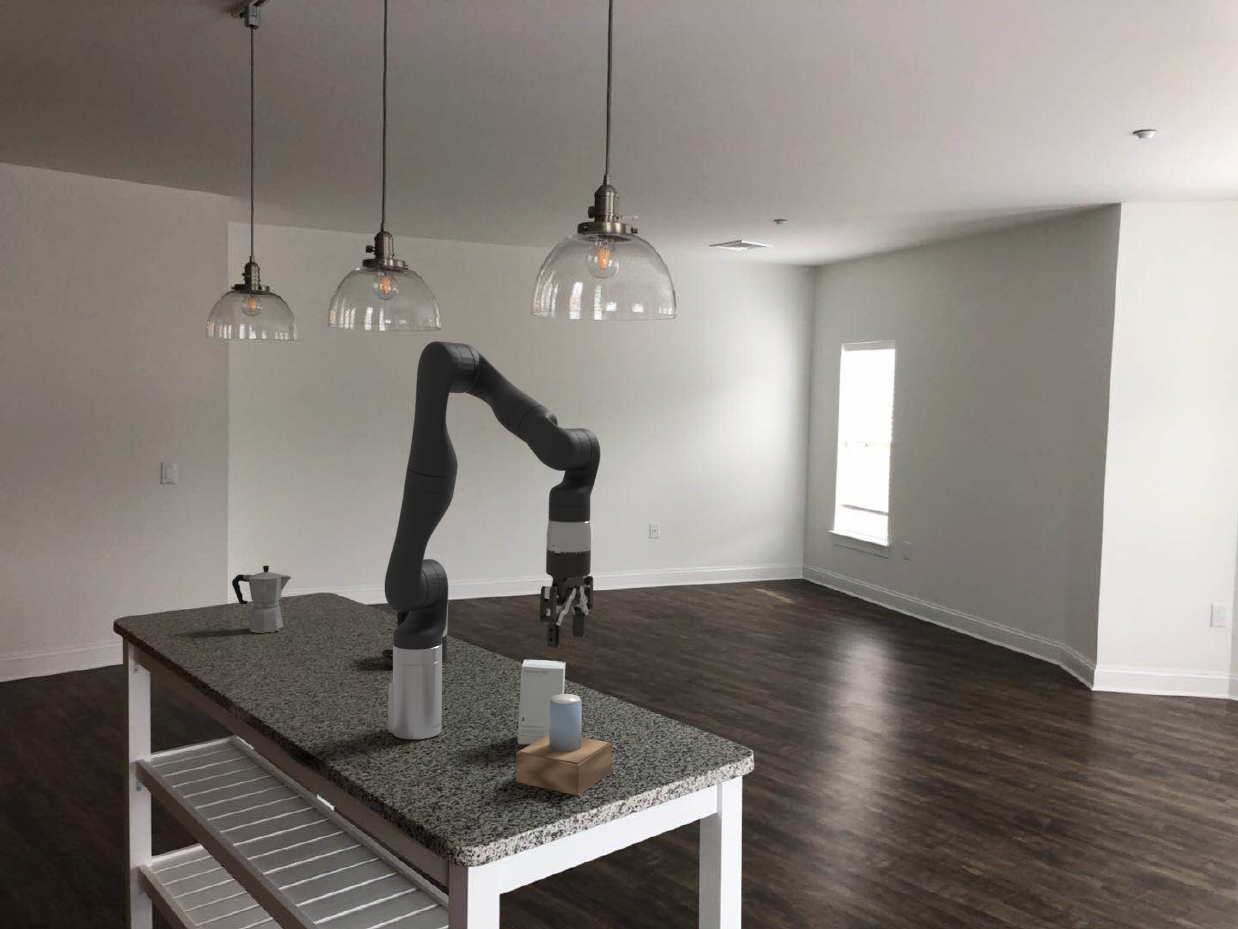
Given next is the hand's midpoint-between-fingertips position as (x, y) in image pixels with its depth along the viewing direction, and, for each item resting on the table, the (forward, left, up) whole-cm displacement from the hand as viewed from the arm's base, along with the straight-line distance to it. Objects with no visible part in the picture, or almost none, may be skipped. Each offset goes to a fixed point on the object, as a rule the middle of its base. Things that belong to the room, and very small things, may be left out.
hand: (566, 641), depth 167 cm
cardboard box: (0, 0, -23) cm, 23 cm away
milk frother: (-69, +47, -24) cm, 87 cm away
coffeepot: (-126, +53, -24) cm, 139 cm away
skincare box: (-13, +14, -24) cm, 30 cm away
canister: (0, 0, -18) cm, 18 cm away
